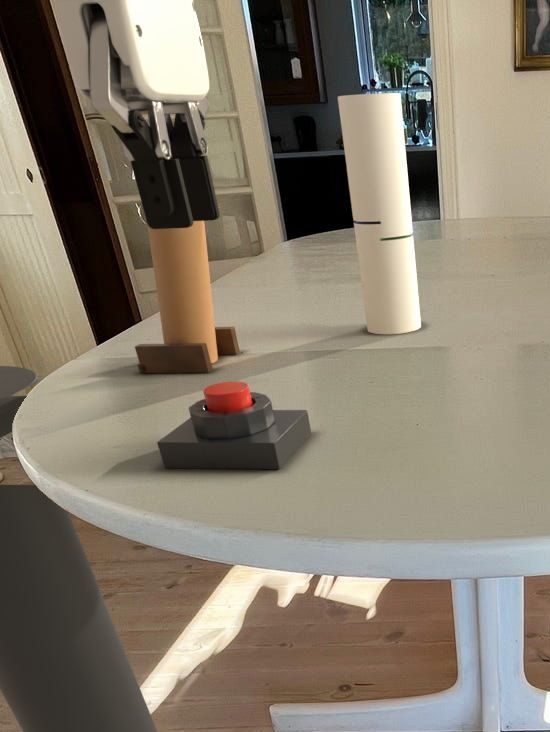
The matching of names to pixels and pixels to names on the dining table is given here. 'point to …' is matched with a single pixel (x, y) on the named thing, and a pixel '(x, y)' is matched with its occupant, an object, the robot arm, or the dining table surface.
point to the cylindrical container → (381, 210)
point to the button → (227, 397)
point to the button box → (236, 437)
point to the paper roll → (184, 285)
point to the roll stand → (185, 354)
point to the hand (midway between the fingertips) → (185, 221)
